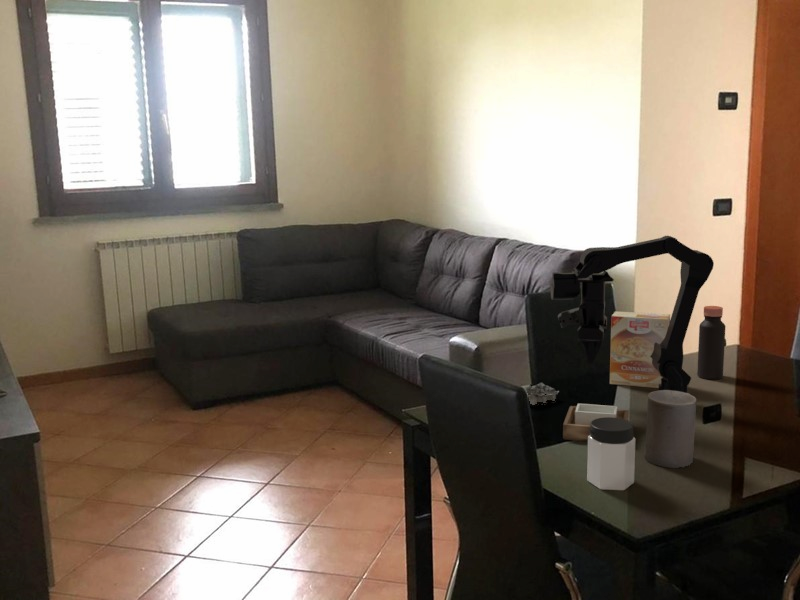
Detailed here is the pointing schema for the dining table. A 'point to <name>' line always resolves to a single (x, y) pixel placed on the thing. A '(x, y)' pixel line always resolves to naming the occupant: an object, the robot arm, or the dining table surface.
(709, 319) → the bottle
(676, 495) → the dining table surface
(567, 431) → the walnut crate
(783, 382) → the dining table surface
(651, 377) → the coffeecake box
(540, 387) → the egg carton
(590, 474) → the jar
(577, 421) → the grey crate
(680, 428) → the pillar candle
